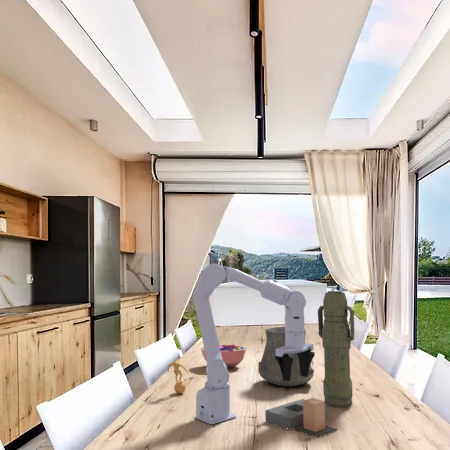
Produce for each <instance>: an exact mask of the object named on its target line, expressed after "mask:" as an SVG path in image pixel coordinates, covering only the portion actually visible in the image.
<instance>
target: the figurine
mask: <svg viewBox="0 0 450 450" xmlns="http://www.w3.org/2000/svg"><path fill="white" fill-rule="evenodd" d="M170 367H173V374H175V381H176V383H175V384H174V386H173V389H174V392H175V393H176V394H178V395H182V394H183V393H185V392H186V389H187V386H186V383H184V381H182V380H181V379H182V377H183V373H182V371H181V370H180V368H182V369H183V370H184V371H185V372H186V373H187V374H189V371H188V370H187V368H186V367H185V366H183V365H182V364H181V363H180V361H179V358H176V359H175V360H174V361H172V362H171V363H169V364H168V365H167V371H166V372H167V373H169V372H170ZM178 375H179V379H178Z"/></svg>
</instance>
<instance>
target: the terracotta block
mask: <svg viewBox="0 0 450 450" xmlns="http://www.w3.org/2000/svg"><path fill="white" fill-rule="evenodd" d="M325 406H326V404H325V402H324V400H322V399H319V398H314V397H310V398H308V399H307V398H306V399H304V401H303V422H304V428H305V429H308V430H311V431H314V432H317V431H320V430H322V429H325V425H326V417H325Z"/></svg>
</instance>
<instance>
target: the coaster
mask: <svg viewBox="0 0 450 450" xmlns="http://www.w3.org/2000/svg"><path fill="white" fill-rule="evenodd" d="M294 429H295V430H294ZM294 429H293V430H294V431H297V430H299V431H301V432H300V433H302V432H304V433H303V434H305V433H307V434H306V435H308V434H310V435H309V436H311V435H313V436H312V437H314V436H316V437H320V436H322V437H324V436H323V435H325V434H327V435H329V434H328V433H330V432H332V433H334V432H337V431H338V428H335V427H333V426H329V425H327V424H325V429H322V430H320V431H317V432H314V431H311V430H308V429H305V428H304V425H301V426H298V427H295V428H294ZM336 430H337V431H336ZM299 431H298V432H299ZM333 431H334V432H333ZM330 434H331V433H330ZM325 436H326V435H325ZM316 437H315V438H316ZM320 438H321V437H320Z"/></svg>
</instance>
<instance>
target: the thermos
mask: <svg viewBox="0 0 450 450" xmlns="http://www.w3.org/2000/svg"><path fill="white" fill-rule="evenodd" d="M348 311H349V314H348ZM354 313H355V312H354V309H353V308H352V307H351V306H349V305H348V299H347V295H346V294H345V292H343V291H342V290H341V291H340V290H329V291H327V292H325V294H324V296H323V301H322V305H320V306H319V307H318V309H317V322H318V336H319V337H320V338H321V339H322V340H321V341H322V347H323V352H324V353H323V357H324V359H323V361H324V362H323V363H324V378H323V381H322V382H323V383H322V384H323V387H322V388H323V397H324V400H323V401H324V402H325V405H326V404H327V405H326V406H328V405H329V406H328V407H332V406H334V407H333V408H340V407H341V408H349V407H352V406H353V395H354V394H353V381H352V379H351V364H350V363H351V361H350V349H351V342H353V341H354V340H355V314H354ZM348 316H349V321H348ZM349 325H350V326H349ZM351 405H352V406H351Z"/></svg>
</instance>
